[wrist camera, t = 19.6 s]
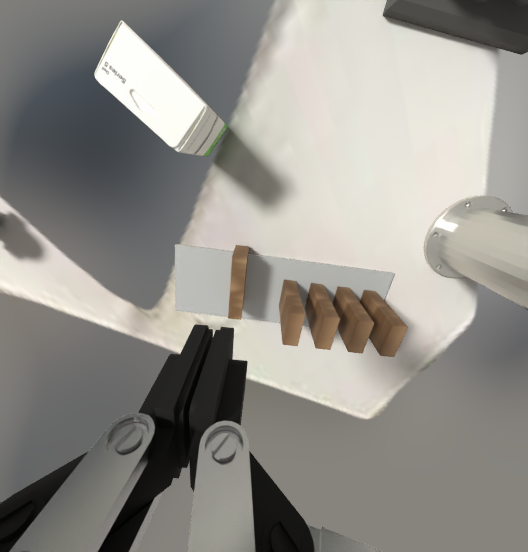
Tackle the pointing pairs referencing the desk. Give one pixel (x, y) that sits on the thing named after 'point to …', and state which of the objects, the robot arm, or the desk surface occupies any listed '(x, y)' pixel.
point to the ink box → (158, 94)
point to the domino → (238, 281)
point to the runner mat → (260, 282)
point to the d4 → (291, 313)
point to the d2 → (352, 320)
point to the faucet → (469, 19)
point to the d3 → (321, 316)
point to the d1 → (383, 324)
